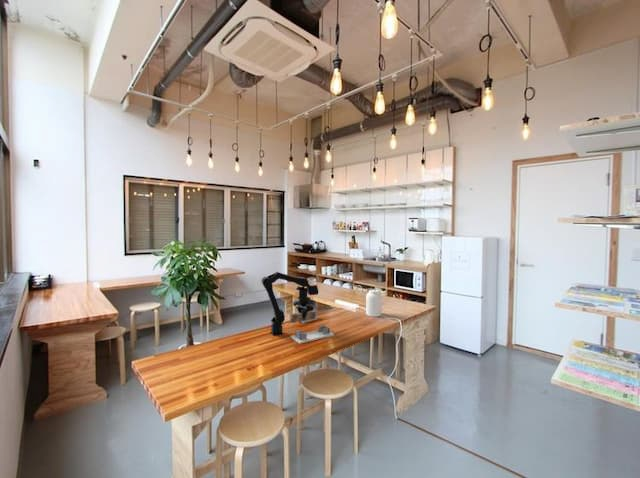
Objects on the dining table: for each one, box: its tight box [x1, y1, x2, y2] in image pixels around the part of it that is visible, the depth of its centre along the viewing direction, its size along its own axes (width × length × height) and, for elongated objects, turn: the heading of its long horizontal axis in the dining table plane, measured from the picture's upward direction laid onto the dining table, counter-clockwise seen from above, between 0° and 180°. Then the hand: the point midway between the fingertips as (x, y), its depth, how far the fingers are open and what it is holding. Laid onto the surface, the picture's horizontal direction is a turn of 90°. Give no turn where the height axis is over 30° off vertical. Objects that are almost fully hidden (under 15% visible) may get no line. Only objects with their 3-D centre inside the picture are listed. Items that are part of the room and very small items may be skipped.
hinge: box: [297, 308, 319, 324], centre depth 232 cm, size 17×5×10 cm, turn 133°
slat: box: [289, 310, 317, 324], centre depth 209 cm, size 18×3×5 cm, turn 118°
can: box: [365, 289, 383, 318], centre depth 246 cm, size 12×12×20 cm
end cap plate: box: [290, 324, 335, 345], centre depth 198 cm, size 26×12×4 cm, turn 123°
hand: (303, 318), depth 209 cm, fingers closed on slat, 3 cm apart
